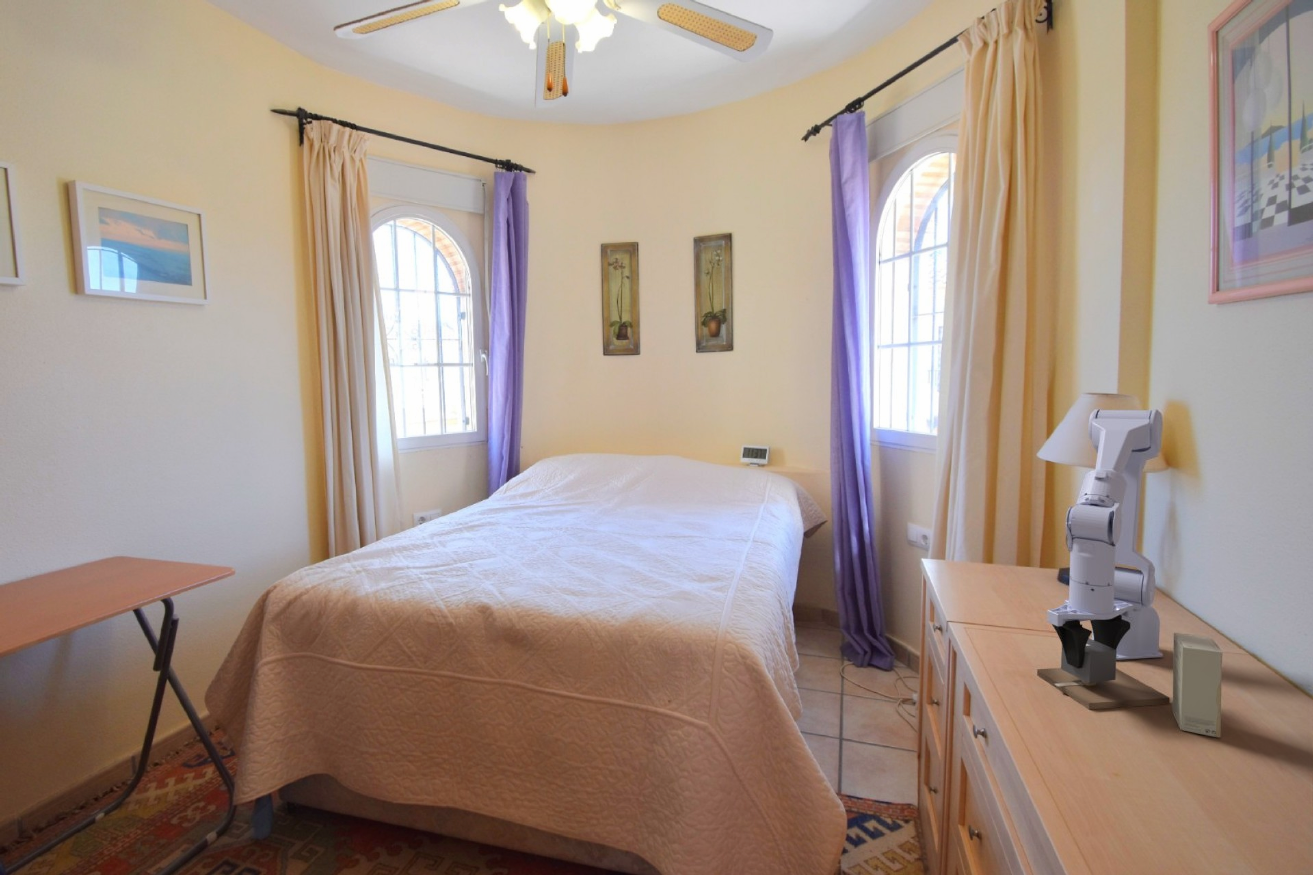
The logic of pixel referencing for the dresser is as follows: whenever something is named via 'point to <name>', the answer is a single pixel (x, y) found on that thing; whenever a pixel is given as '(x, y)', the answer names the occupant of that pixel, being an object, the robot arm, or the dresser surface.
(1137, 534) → the robot arm
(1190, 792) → the dresser surface
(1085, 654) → the mini file drawer
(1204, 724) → the skincare box
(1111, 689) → the board
